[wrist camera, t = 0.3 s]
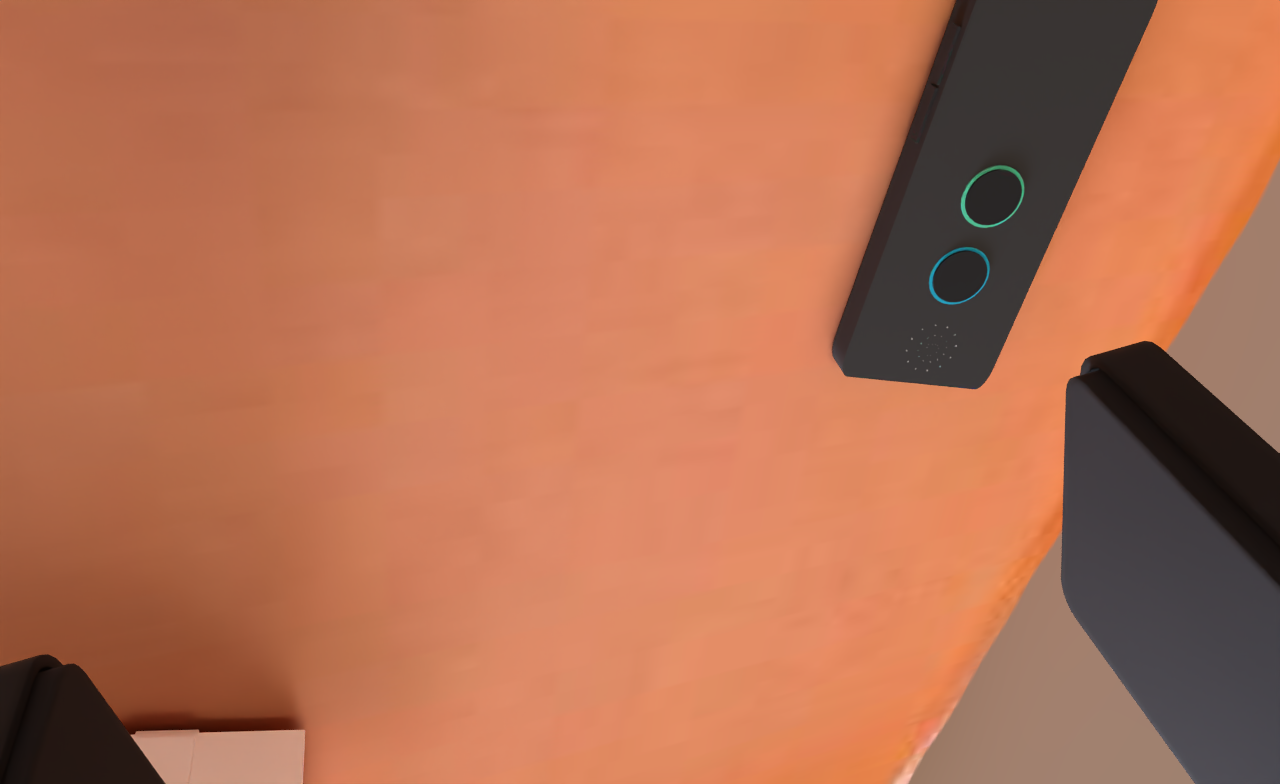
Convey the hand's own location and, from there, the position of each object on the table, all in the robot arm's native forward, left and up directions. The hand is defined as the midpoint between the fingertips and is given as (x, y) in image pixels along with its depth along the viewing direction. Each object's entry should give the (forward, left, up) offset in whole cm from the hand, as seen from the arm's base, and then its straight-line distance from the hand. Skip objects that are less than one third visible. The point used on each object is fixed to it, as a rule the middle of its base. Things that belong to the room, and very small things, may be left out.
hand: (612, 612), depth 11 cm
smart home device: (+25, +7, -37) cm, 45 cm away
